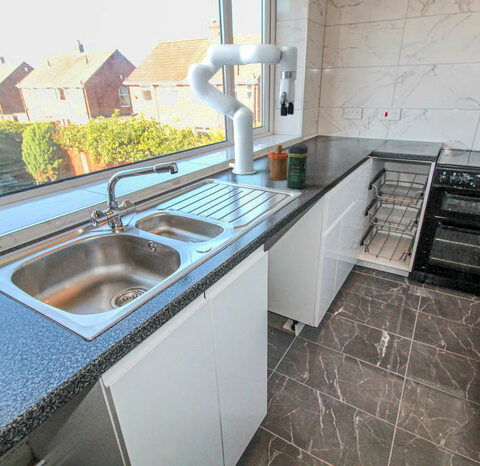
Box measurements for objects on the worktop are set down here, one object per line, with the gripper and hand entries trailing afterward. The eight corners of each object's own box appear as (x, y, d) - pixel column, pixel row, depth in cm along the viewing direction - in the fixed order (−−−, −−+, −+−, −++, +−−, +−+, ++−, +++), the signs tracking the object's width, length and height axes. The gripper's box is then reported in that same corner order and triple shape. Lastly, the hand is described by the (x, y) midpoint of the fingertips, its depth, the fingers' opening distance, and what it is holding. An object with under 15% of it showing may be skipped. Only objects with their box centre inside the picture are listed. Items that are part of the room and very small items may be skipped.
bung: (265, 158, 154) (265, 154, 153) (272, 154, 162) (272, 151, 161) (285, 159, 150) (285, 156, 150) (291, 155, 158) (291, 152, 158)
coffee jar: (302, 190, 142) (305, 146, 135) (285, 188, 145) (286, 145, 137) (307, 184, 150) (309, 142, 143) (290, 183, 153) (292, 142, 145)
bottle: (267, 179, 159) (267, 145, 153) (273, 175, 166) (274, 143, 160) (283, 181, 156) (284, 146, 149) (289, 177, 163) (290, 144, 156)
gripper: (286, 77, 162) (285, 113, 169) (274, 76, 148) (273, 116, 155) (301, 76, 159) (299, 114, 166) (290, 75, 145) (288, 116, 152)
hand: (287, 115), depth 161 cm, fingers open, 9 cm apart
